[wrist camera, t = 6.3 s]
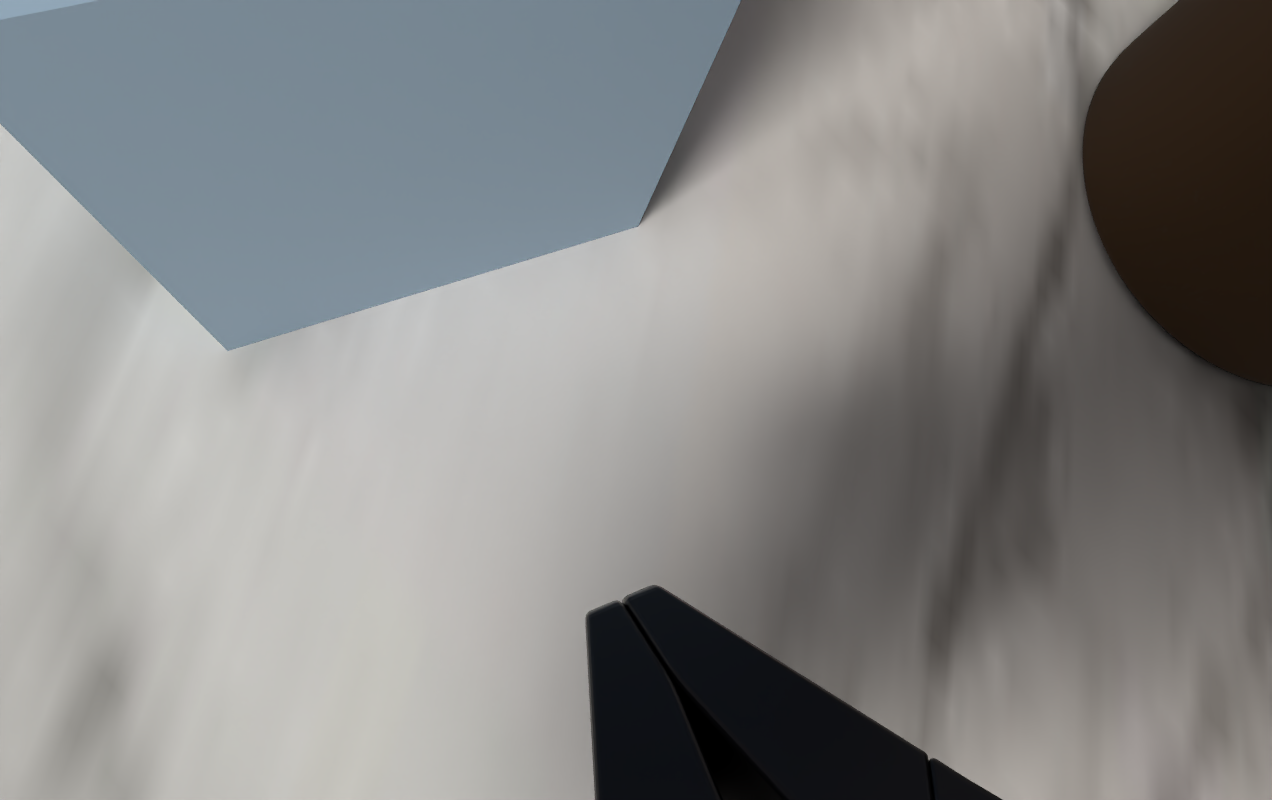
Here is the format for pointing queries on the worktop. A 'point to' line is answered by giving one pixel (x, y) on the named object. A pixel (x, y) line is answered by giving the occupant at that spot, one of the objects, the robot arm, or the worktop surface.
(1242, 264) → the olive oil
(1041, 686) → the worktop surface
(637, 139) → the slate block
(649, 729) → the robot arm
